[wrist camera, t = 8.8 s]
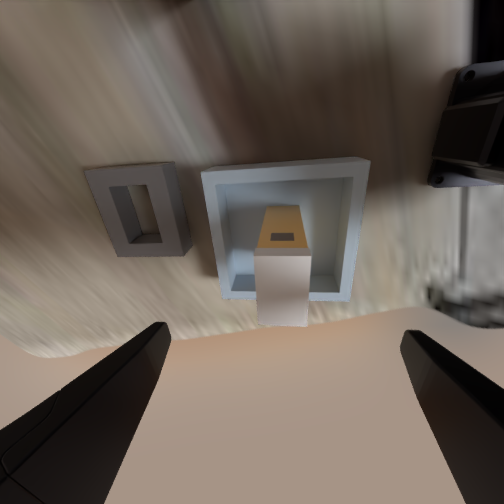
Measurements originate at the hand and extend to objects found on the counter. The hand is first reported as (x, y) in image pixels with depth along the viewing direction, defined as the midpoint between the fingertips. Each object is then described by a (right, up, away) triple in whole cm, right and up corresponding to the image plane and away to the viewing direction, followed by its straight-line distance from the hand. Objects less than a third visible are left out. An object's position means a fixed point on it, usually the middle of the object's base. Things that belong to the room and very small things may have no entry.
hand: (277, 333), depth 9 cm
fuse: (+1, +5, +9) cm, 10 cm away
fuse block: (-10, +7, +10) cm, 16 cm away
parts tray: (+1, +5, +10) cm, 11 cm away
